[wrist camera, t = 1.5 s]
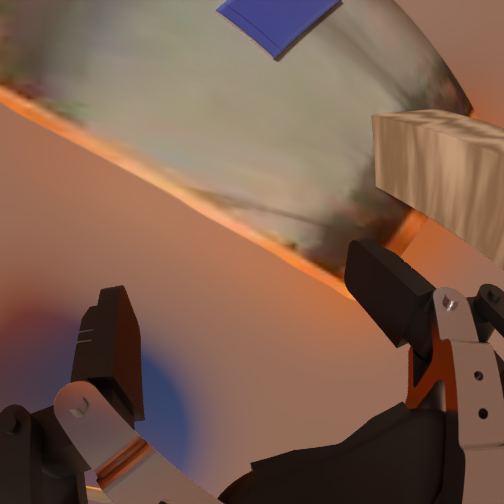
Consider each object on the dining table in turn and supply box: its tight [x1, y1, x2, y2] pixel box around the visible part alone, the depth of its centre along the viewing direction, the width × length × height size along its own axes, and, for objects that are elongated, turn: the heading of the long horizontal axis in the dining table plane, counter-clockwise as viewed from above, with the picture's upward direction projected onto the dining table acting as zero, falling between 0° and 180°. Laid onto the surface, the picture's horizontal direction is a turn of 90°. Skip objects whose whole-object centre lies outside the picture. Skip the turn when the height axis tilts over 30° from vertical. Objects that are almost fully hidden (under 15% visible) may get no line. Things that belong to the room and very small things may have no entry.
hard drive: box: [215, 0, 341, 59], centre depth 21 cm, size 2×8×12 cm
